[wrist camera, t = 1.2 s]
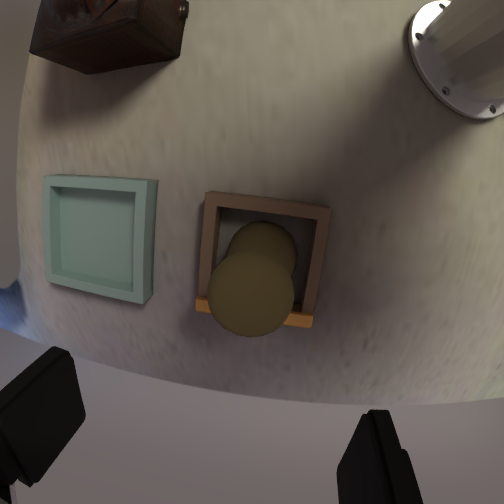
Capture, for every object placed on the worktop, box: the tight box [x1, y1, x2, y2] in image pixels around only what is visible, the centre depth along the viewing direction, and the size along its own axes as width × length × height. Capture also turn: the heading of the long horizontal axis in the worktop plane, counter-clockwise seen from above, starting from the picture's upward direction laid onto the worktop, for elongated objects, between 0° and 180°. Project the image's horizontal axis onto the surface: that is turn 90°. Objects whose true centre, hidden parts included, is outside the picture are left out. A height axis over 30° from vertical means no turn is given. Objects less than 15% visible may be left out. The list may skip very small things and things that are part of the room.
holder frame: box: [195, 191, 332, 328], centre depth 27 cm, size 10×10×2 cm
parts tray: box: [43, 174, 158, 304], centre depth 28 cm, size 12×11×2 cm
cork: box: [207, 221, 298, 337], centre depth 23 cm, size 6×6×11 cm
